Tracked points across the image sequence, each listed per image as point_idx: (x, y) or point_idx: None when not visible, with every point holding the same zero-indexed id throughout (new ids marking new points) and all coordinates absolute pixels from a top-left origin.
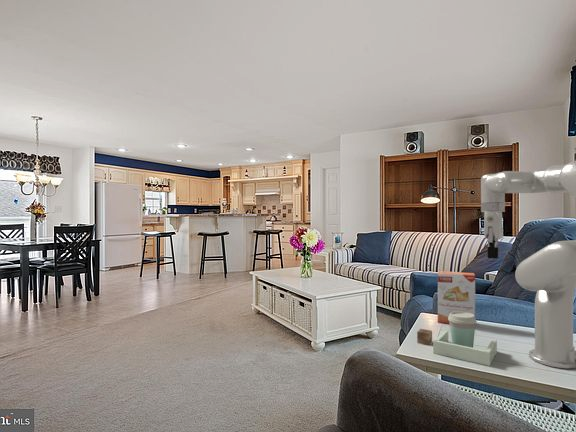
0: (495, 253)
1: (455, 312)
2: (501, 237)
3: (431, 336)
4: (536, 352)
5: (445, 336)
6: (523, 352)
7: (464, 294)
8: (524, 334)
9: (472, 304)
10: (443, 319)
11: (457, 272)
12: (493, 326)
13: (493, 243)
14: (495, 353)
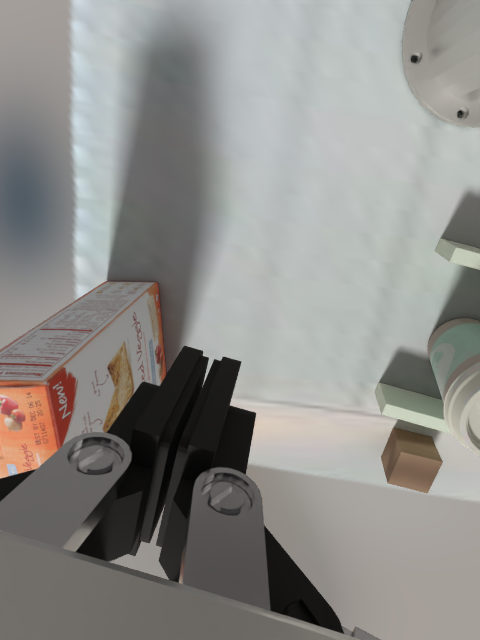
0: (226, 415)
1: (471, 439)
2: (151, 607)
3: (405, 441)
4: None
5: (422, 408)
6: (421, 140)
7: (116, 376)
8: (180, 96)
9: (127, 321)
10: None
11: (9, 475)
12: (122, 210)
13: (328, 612)
14: (471, 246)
